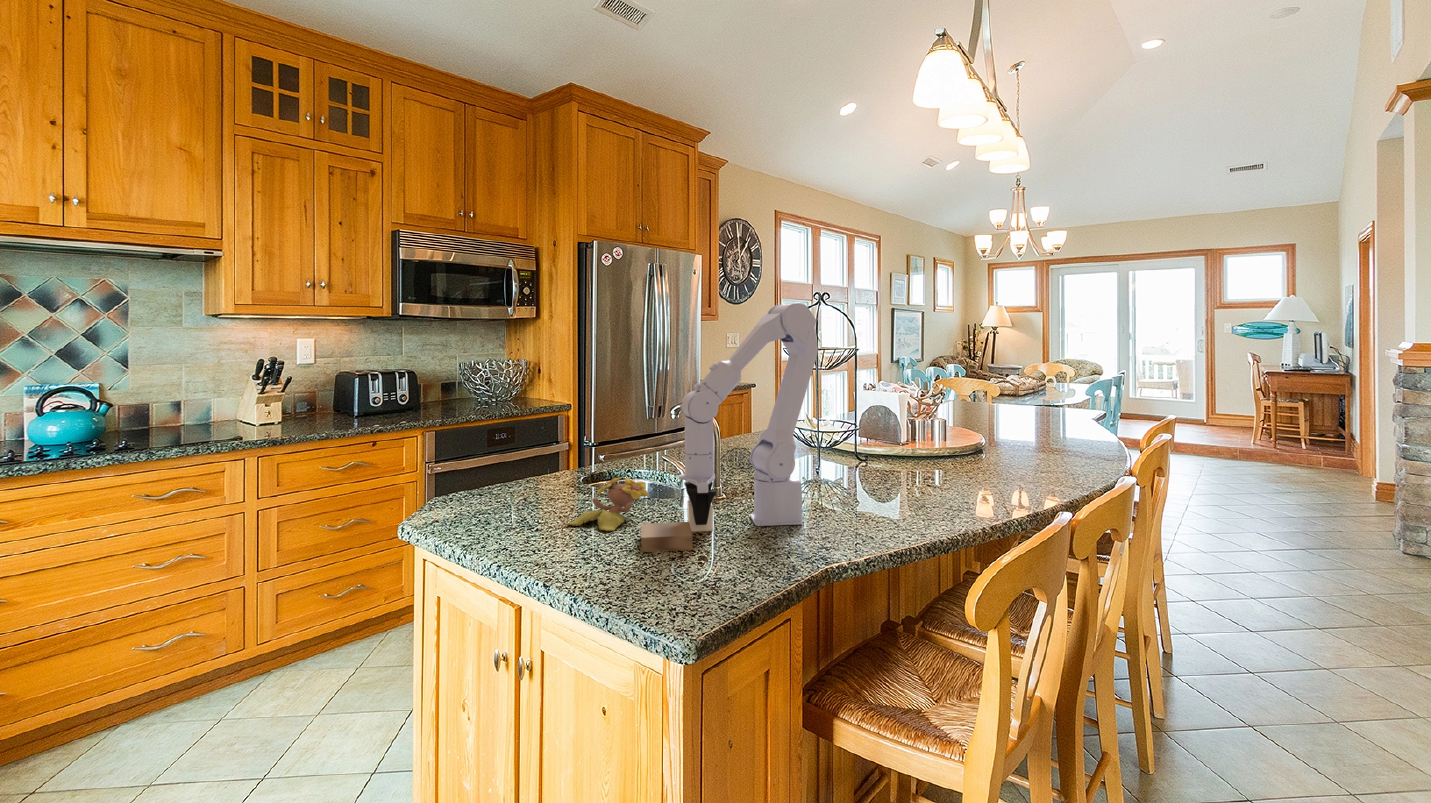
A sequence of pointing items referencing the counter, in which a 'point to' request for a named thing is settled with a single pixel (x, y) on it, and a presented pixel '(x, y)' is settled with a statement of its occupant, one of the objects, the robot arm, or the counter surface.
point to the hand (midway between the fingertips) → (700, 520)
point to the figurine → (620, 498)
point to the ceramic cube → (692, 521)
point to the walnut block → (666, 536)
